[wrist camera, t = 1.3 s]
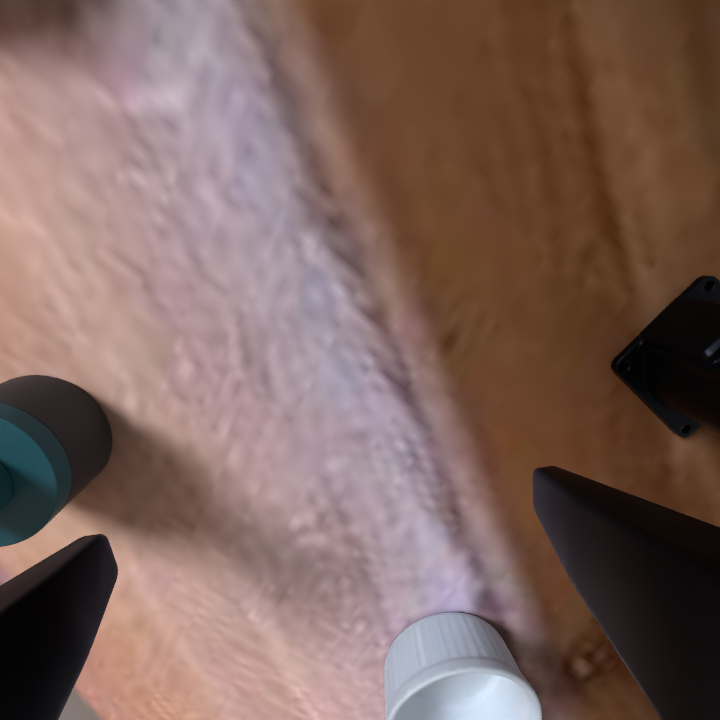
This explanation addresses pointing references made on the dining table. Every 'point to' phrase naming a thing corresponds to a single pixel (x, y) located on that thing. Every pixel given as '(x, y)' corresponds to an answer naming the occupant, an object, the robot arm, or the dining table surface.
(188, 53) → the dining table surface
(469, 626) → the ramekin
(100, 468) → the teal peg stand
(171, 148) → the dining table surface
